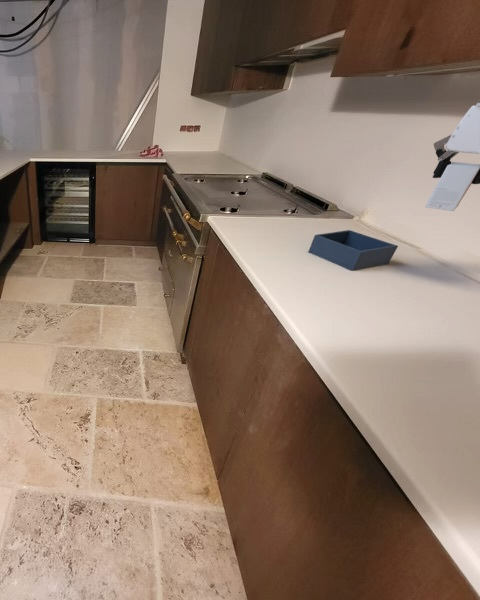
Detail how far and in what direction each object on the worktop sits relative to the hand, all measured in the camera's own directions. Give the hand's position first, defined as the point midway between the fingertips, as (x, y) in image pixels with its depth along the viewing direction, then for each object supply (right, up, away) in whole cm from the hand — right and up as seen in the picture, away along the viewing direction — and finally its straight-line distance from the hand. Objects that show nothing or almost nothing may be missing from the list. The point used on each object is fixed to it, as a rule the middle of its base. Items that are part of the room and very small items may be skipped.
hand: (456, 180), depth 81 cm
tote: (-12, -17, +19) cm, 28 cm away
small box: (0, -6, +4) cm, 7 cm away
